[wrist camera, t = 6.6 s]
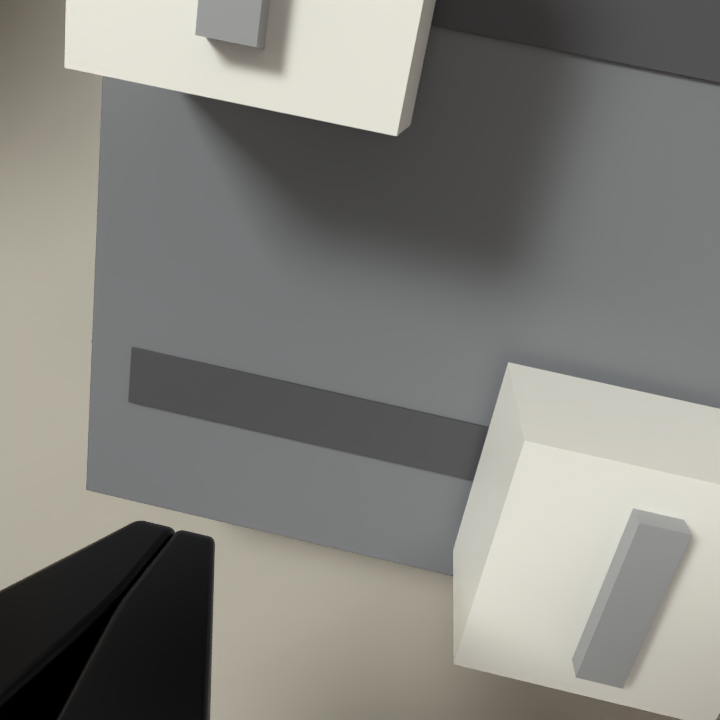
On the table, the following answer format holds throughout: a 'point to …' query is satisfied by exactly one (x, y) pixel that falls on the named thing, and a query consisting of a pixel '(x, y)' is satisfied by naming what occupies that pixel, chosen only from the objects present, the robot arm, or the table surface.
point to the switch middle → (264, 53)
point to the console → (402, 270)
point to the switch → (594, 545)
